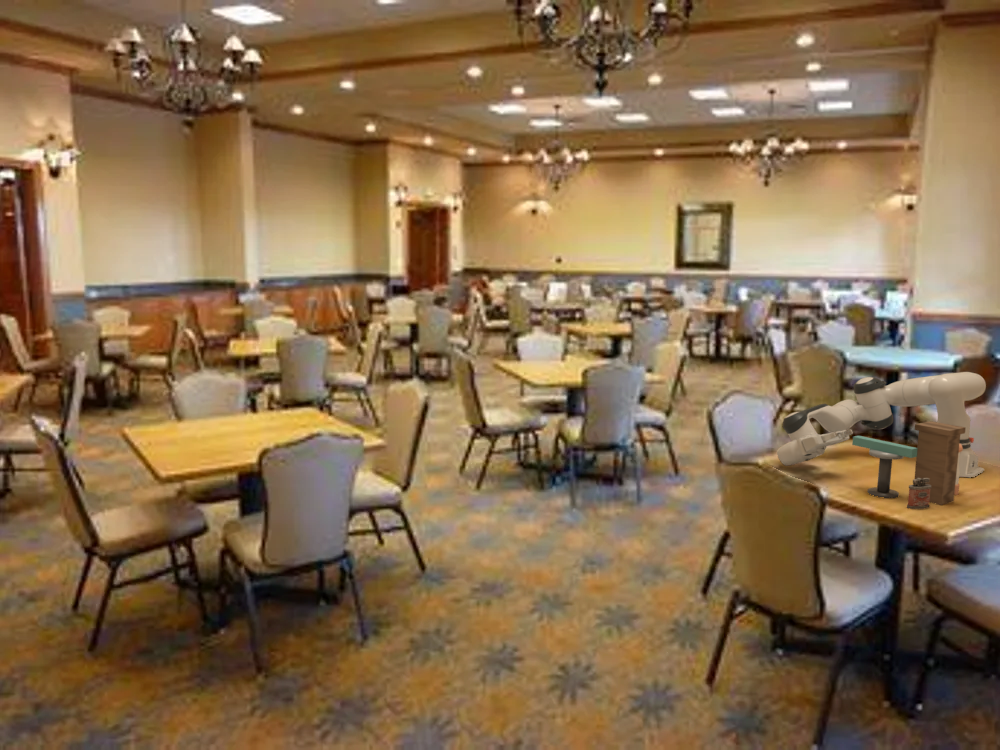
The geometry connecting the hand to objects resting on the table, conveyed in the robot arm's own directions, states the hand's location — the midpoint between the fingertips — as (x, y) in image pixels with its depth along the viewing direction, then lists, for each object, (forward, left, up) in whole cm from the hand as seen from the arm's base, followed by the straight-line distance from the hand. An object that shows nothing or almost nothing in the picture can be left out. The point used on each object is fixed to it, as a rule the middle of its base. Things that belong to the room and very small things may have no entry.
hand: (843, 432), depth 306 cm
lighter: (+4, +32, -19) cm, 37 cm away
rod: (0, +16, -3) cm, 16 cm away
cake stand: (0, +17, -19) cm, 25 cm away
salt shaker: (-22, +28, -19) cm, 40 cm away
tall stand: (-9, +30, -19) cm, 36 cm away
